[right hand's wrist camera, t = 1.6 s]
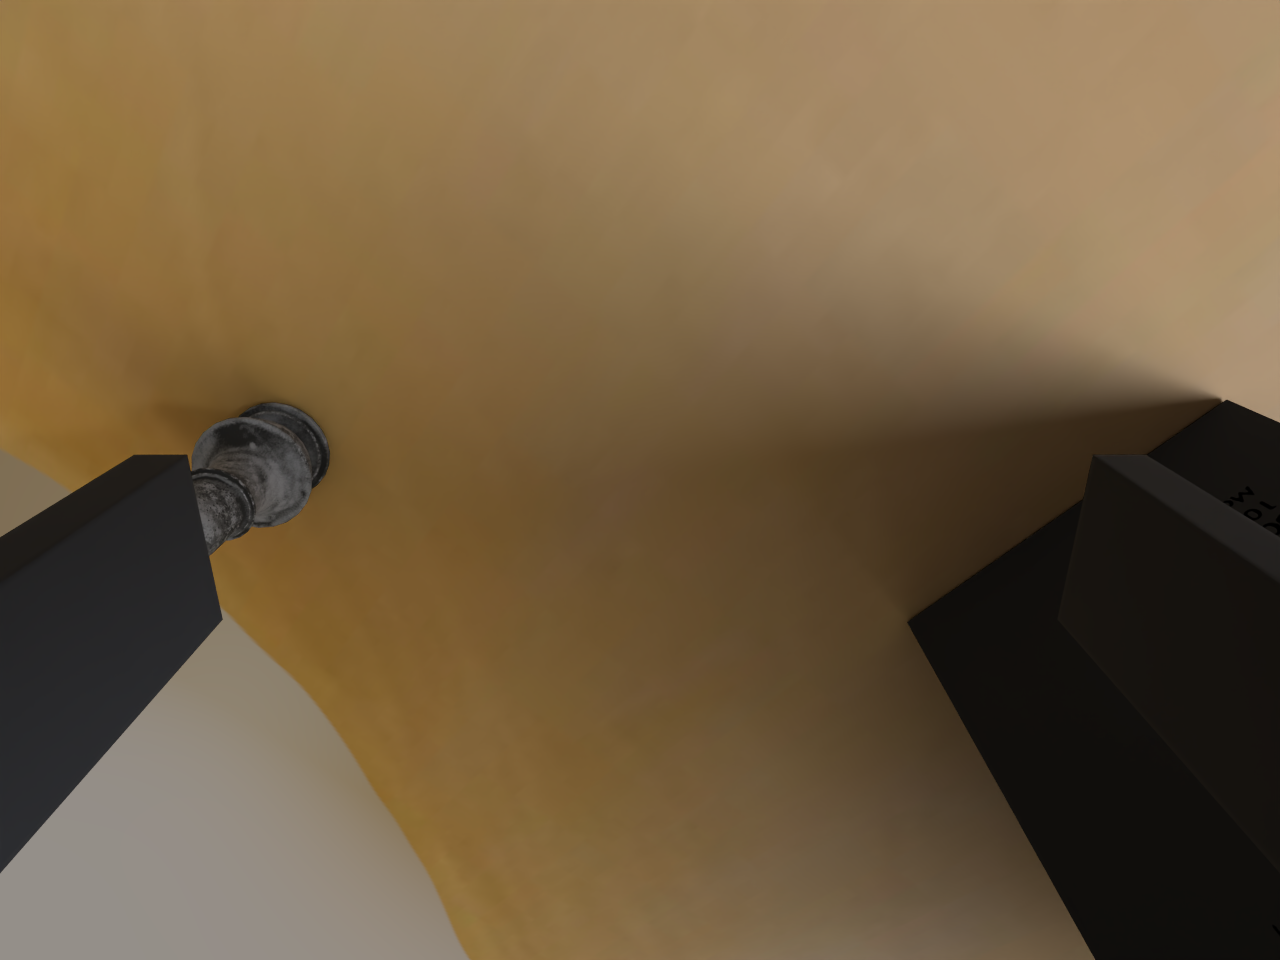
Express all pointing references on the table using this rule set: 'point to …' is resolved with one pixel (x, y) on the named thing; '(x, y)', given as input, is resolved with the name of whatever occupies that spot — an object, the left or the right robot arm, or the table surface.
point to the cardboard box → (1110, 736)
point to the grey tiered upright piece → (256, 470)
